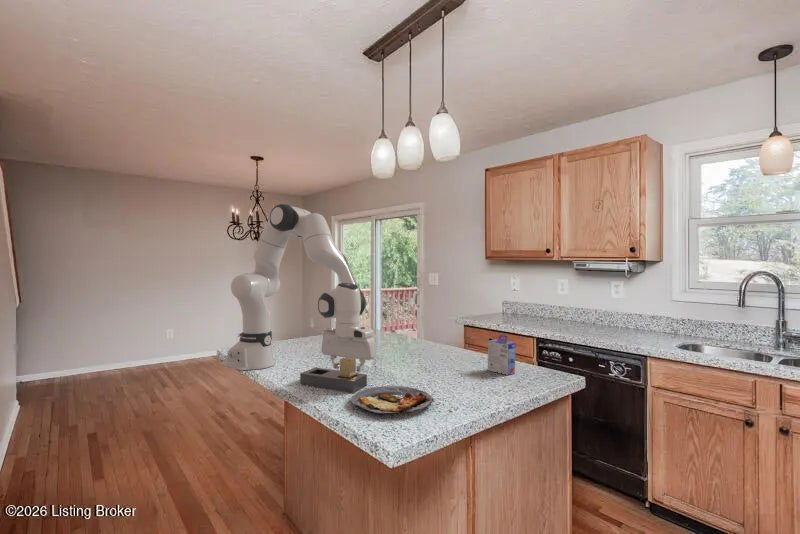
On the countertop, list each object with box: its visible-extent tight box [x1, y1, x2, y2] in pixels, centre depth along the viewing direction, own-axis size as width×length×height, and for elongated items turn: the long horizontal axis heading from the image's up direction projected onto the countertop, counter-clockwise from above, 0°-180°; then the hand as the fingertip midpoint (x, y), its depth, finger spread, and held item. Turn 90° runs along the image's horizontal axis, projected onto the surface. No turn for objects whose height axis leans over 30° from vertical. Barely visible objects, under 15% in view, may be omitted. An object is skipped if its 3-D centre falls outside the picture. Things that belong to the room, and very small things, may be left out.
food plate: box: [350, 385, 435, 415], centre depth 125 cm, size 25×23×4 cm
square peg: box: [339, 357, 357, 379], centre depth 141 cm, size 4×4×10 cm
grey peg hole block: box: [299, 367, 368, 394], centre depth 143 cm, size 22×9×4 cm, turn 66°
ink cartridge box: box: [487, 334, 517, 376], centre depth 162 cm, size 10×6×14 cm, turn 41°
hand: (347, 369), depth 141 cm, fingers open, 8 cm apart
